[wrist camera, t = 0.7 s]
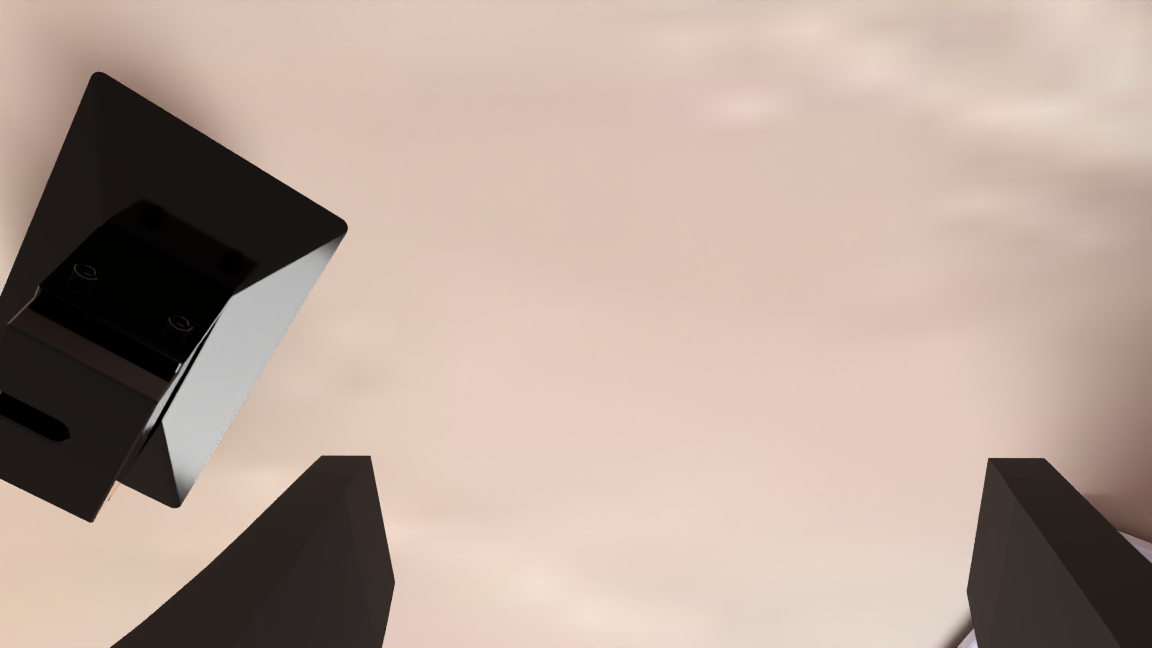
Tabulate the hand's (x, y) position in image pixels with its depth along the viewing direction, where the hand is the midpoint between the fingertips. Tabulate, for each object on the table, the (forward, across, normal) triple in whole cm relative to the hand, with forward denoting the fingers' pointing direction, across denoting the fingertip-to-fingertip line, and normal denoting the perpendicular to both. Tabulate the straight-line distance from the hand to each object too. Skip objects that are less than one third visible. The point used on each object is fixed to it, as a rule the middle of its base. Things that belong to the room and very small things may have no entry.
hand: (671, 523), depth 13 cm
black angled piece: (+10, +12, +3) cm, 16 cm away
